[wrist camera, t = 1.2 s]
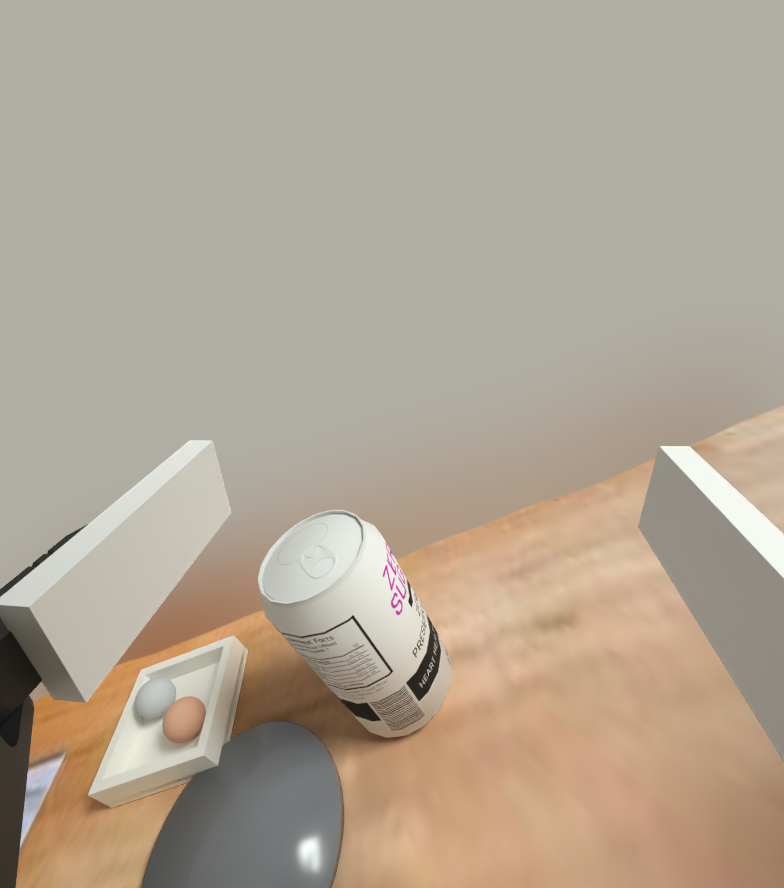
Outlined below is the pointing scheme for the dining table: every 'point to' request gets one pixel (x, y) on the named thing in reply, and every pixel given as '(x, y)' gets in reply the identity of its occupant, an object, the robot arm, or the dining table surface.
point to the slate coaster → (255, 817)
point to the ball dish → (143, 741)
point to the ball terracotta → (184, 719)
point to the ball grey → (155, 698)
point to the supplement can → (356, 621)
